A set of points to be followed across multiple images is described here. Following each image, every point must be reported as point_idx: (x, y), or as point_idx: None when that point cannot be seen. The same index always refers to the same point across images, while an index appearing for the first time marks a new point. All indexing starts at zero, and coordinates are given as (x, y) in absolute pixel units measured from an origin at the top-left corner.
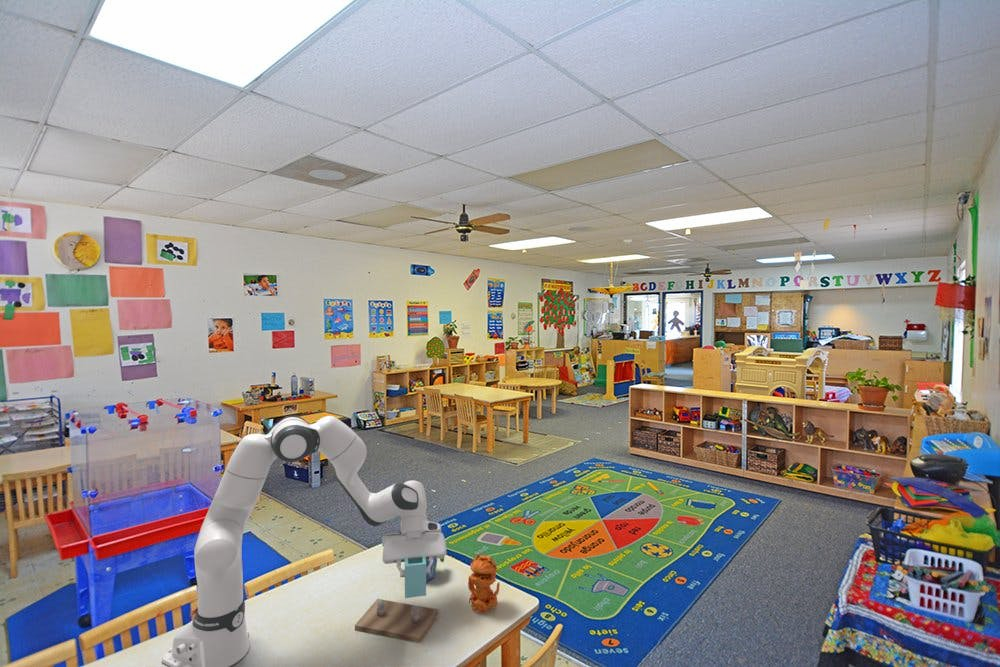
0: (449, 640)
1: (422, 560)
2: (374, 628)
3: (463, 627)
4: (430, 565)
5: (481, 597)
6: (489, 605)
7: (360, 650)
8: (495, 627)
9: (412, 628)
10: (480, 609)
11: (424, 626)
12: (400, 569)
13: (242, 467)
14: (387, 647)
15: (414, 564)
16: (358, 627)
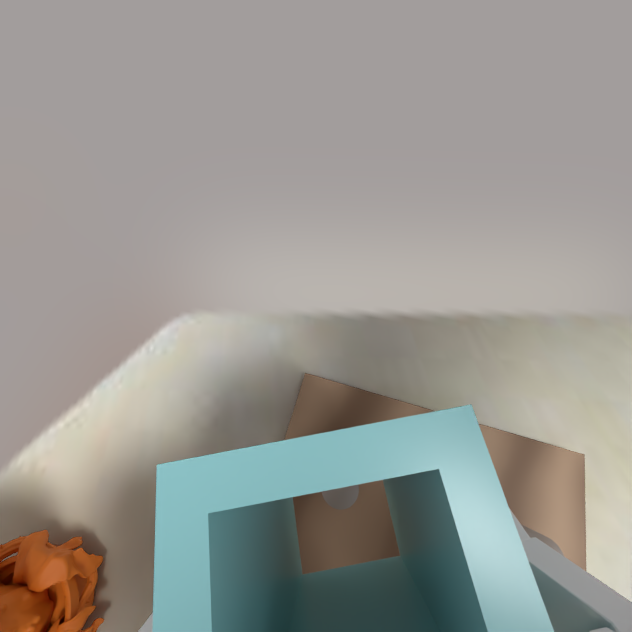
0: (215, 386)
1: (214, 610)
2: (490, 429)
3: (162, 454)
4: (147, 625)
5: (11, 591)
6: (8, 542)
7: (492, 346)
8: (53, 449)
9: (341, 425)
10: (64, 543)
11: (297, 435)
12: (528, 542)
13: None
14: (409, 358)
15: (334, 451)
16: (560, 448)
